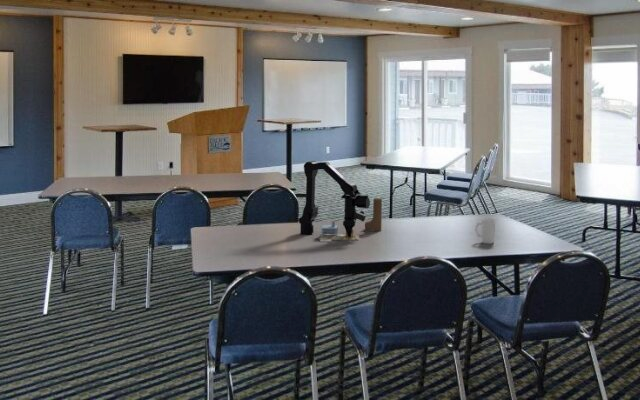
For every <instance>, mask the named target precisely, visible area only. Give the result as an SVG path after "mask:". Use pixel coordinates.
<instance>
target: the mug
mask: <svg viewBox="0 0 640 400" xmlns="http://www.w3.org/2000/svg"><path fill="white" fill-rule="evenodd" d="M479 226H481V233H479V231H478V227H479ZM474 231H475V234H476V236H477V237H478V238H481V243H482V244H491V245H492V244H494V243H495V233H496V219H495V218H482V219H481V221H477V223H476V225H475V229H474Z"/></svg>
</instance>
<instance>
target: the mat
mask: <svg viewBox="0 0 640 400" xmlns="http://www.w3.org/2000/svg"><path fill="white" fill-rule="evenodd" d="M332 241H333V240H332V239H322V238H321V239H319V242H320V243H321V242H322V243H331V242H332Z"/></svg>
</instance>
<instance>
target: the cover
mask: <svg viewBox="0 0 640 400" xmlns="http://www.w3.org/2000/svg"><path fill="white" fill-rule="evenodd" d="M331 222H332V223H331V224H322V226H321V230H320V231H321V233H320V234H321V237H323V235H324V234H335V237H337V234H339V230H338V229H339V228H338V227H339V225H337V224H336V221H335V220H331Z"/></svg>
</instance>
